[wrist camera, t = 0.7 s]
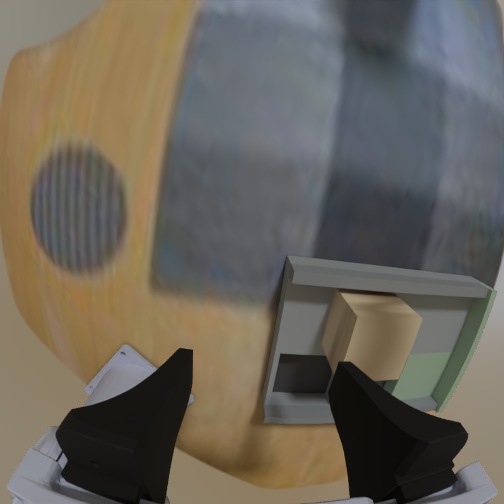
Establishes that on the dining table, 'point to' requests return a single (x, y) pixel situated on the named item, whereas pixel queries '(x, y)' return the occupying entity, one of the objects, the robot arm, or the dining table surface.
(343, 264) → the box
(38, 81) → the dining table surface
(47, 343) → the dining table surface
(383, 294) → the beech cube
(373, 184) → the dining table surface
